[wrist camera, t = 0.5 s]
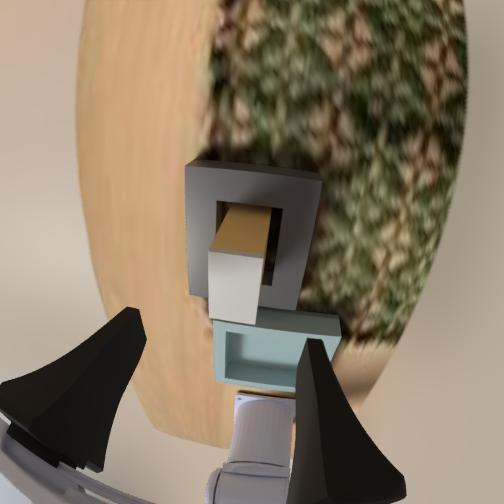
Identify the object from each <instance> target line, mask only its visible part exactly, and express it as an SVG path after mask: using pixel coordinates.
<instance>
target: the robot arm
mask: <svg viewBox="0 0 504 504" xmlns="http://www.w3.org/2000/svg"><path fill="white" fill-rule="evenodd" d="M146 341H147V338H146V335H145V331H144V327H143V323H142V319H141V315H140V311H139V309H136V308H132V307H126V308H125V309H123V310H122V311H121V312H120V313H119V314H117V315H116V316H115V317H114V318H113V319H111V320H110V321H109V322H108V323H107V324H106V325H104V326H103V327H102V328H101V329H99V330H98V331H97V332H96V333H94V334H93V335H92V336H91V337H89V338H88V339H87V340H85V341H84V342H83V343H81V344H80V345H79V346H77V347H76V348H75V349H73V350H72V351H70V352H69V353H67V354H65V355H64V356H62V357H61V358H59V359H57V360H56V361H54V362H52V363H50V364H48V365H46V366H44V367H42V368H40V369H38V370H36V371H34V372H32V373H29V374H26V375H24V376H21V377H18V378H15V379H12V380H8V381H5V382H2V383H1V385H0V412H1V413H3V414H4V416H6V417H7V418H8V419H9V420H10V421H11V424H10V425H8V424H7V423H6V422H5V421H4V420H2V419H1V418H0V473H1V474H2V475H3V476H4V477H5V478H6V479H7V480H8V481H9V482H10V483H11V484H12V485H13V486H14V487H15V488H16V489H17V490H18V491H19V492H20V493H21V494H22V495H23V496H25V498H27V499H28V500H29V501H30V502H31V503H32V504H109V503H107V502H105V501H102V500H100V499H98V498H96V497H93V496H91V495H89V494H86V492H85V490H84V488H86V489H87V490H89V491H92V492H94V493H95V494H98V495H100V496H102V497H104V498H106V499H109V500H111V501H113V502H115V503H118V504H154V503H151V502H148V501H146V500H143V499H140V498H137V497H134V496H132V495H129V494H126V493H124V492H122V491H119V490H117V489H114V488H112V487H109V486H107V485H105V484H103V483H101V482H99V481H97V480H94V479H92V478H90V477H88V476H86V475H84V474H82V473H81V472H79V471H77V470H76V467H79V468H81V469H84V468H85V467H86V468H88V469H90V470H92V471H94V472H96V473H99V472H102V471H103V468H104V461H105V455H106V449H107V444H108V440H109V435H110V431H111V428H112V424H113V420H114V417H115V414H116V411H117V408H118V405H119V402H120V400H121V397H122V395H123V393H124V391H125V389H126V387H127V385H128V383H129V381H130V379H131V377H132V375H133V373H134V371H135V369H136V367H137V365H138V363H139V360H140V358H141V355H142V353H143V350H144V347H145V344H146ZM295 416H296V441H295V450H294V458H293V466H292V473H291V477H290V468H289V466H290V454H291V441H292V426H293V420H294V418H295ZM234 423H235V425H234V431H233V436H232V441H231V446H230V451H229V456H228V462H227V463H223V468H217V469H216V470H215V471H214V472H212V473H211V475H210V477H209V480H208V483H207V487H206V492H205V504H391V503H393V502H397V501H399V500H402V499H404V498H405V497H406V496H407V495H406V484H405V480H404V476H403V475H402V474H401V473H400V472H399V471H398V470H397V469H396V468H395V467H394V466H393V465H392V464H391V463H390V461H389V460H388V459H387V458H386V457H385V456H384V455H383V454H382V452H381V451H380V450H379V449H378V447H377V446H376V445H375V444H374V442H373V441H372V439H371V438H370V437H369V435H368V434H367V433H366V431H365V430H364V428H363V427H362V425H361V424H360V422H359V420H358V419H357V417H356V415H355V414H354V412H353V410H352V408H351V407H350V405H349V403H348V401H347V399H346V397H345V395H344V393H343V391H342V389H341V387H340V384H339V382H338V380H337V377H336V375H335V373H334V370H333V368H332V365H331V363H330V360H329V357H328V355H327V352H326V349H325V346H324V342H323V340H322V339H315V338H307V339H306V342H305V345H304V348H303V351H302V354H301V357H300V359H299V362H298V365H297V373H296V384H295V399H287V398H277V397H269V396H261V395H253V394H246V393H236V398H235V410H234ZM289 477H290V482H289ZM83 487H84V488H83Z"/></svg>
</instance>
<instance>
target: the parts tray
mask: <svg viewBox="0 0 504 504" xmlns="http://www.w3.org/2000/svg"><path fill="white" fill-rule="evenodd" d="M307 338H315V339H322V340H323V342H324V346H325V349H326V352H327V355H328V357H329V360H330V361H331V359H332V357H333V355H334V352H335V350H336V348H337V346H338V344H339V342H340V339H341V329H340V322H339V315H333V314H324V313H315V312H306V311H298V310H295V311H294V310H286V309H279V308H271V307H264V306H258V310H257V316H256V322H255V325H253V324H246V323H239V322H233V321H227V320H221V319H215V318H214V319H213V341H214V373H215V381H216V382H222V383H228V384H233V385H240V386H246V387H253V388H260V389H268V390H276V391H286V392H295V384H296V373H297V365H298V362H299V359H300V357H301V354H302V351H303V348H304V345H305V342H306V339H307Z"/></svg>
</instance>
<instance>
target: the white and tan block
mask: <svg viewBox="0 0 504 504" xmlns="http://www.w3.org/2000/svg"><path fill="white" fill-rule="evenodd" d="M271 212H272V207H268V206H260V205H252V204H244V203H236V202H232V204H231V206H230V208H229V210H228V212H227V214H226V216H225V218H224V220H223V222H222V224H221V226H220V228H219V230H218V232H217V234H216V236H215V238H214V240H213V242H212V244H211V246H210V248H209V251H208V289H209V318H215V319H221V320H227V321H233V322H239V323H246V324H253V325H255V322H256V316H257V310H258V304H259V298H260V291H261V285H262V279H263V273H264V266H265V260H266V252H267V244H268V236H269V228H270V220H271Z"/></svg>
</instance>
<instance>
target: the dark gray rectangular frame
mask: <svg viewBox="0 0 504 504" xmlns="http://www.w3.org/2000/svg"><path fill="white" fill-rule="evenodd" d="M322 182H323V181H322V178H321V175H320V173H316V172H309V171H303V170H296V169H289V168H281V167H274V166H265V165H257V164H247V163H237V162H226V161H214V160H200V159H194V160H193V161H191V162H190V163H188V164H187V165H186V166H185V215H186V243H187V264H188V280H189V294H190V295H194V296H200V297H206V298H209V289H208V251H209V248H210V246H211V244H212V242H213V240H214V238H215V236H216V234H217V232H218V230H219V228H220V226H221V224H222V204H223V201H227V202H236V203H244V204H252V205H260V206H268V207H276V208H283V209H282V217H281V224H280V231H279V238H278V245H277V251H276V258H275V265H274V271H269V270H264V273H263V279H262V285H261V291H260V298H259V304H258V306H264V307H271V308H279V309H286V310H294V311H295V310H296V306H297V301H298V297H299V293H300V289H301V285H302V280H303V276H304V272H305V267H306V263H307V258H308V253H309V249H310V244H311V239H312V235H313V230H314V225H315V220H316V215H317V209H318V204H319V199H320V193H321V188H322Z"/></svg>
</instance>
